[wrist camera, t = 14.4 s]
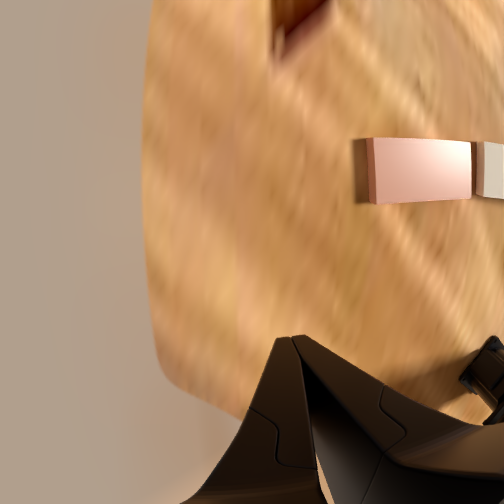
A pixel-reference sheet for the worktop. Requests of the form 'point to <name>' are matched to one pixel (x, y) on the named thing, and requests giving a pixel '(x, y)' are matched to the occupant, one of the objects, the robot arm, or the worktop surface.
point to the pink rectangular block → (417, 170)
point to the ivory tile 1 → (490, 170)
